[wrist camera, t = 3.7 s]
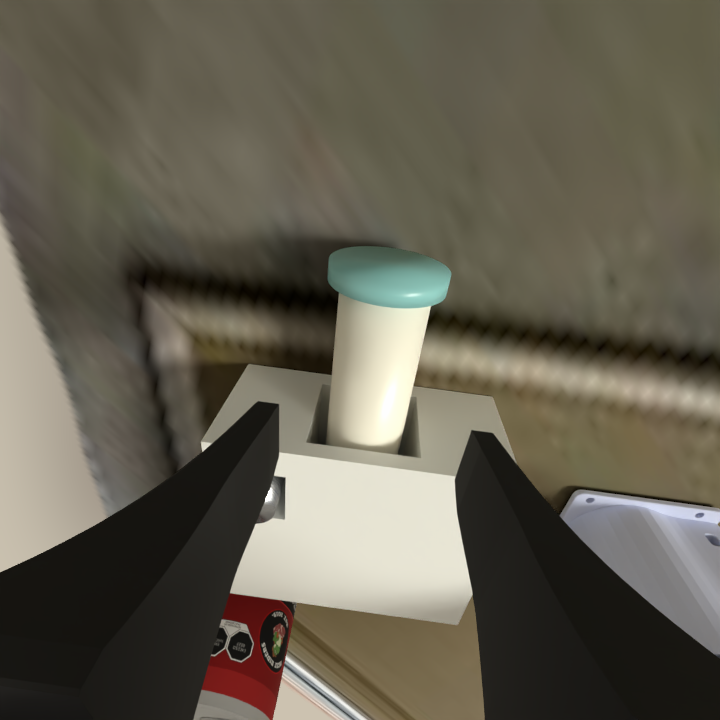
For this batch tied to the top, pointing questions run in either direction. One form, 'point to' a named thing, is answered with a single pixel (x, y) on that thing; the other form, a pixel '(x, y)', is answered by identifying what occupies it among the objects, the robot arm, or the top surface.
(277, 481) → the plunger
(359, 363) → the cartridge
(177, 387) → the top surface
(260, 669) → the canned food
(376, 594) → the housing
